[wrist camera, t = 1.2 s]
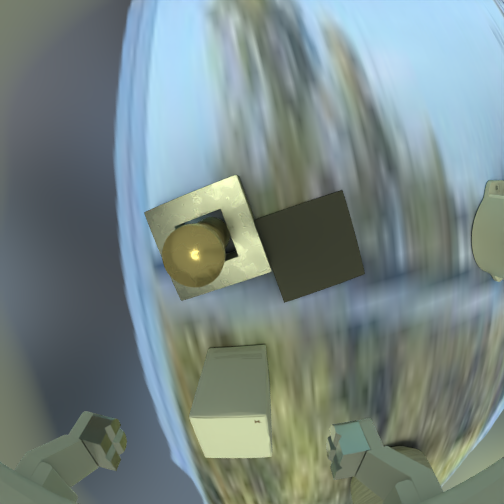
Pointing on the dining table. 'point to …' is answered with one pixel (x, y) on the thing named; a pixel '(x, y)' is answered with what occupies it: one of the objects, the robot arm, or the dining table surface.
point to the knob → (196, 252)
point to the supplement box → (234, 404)
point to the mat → (311, 246)
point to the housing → (238, 222)
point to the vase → (367, 500)
